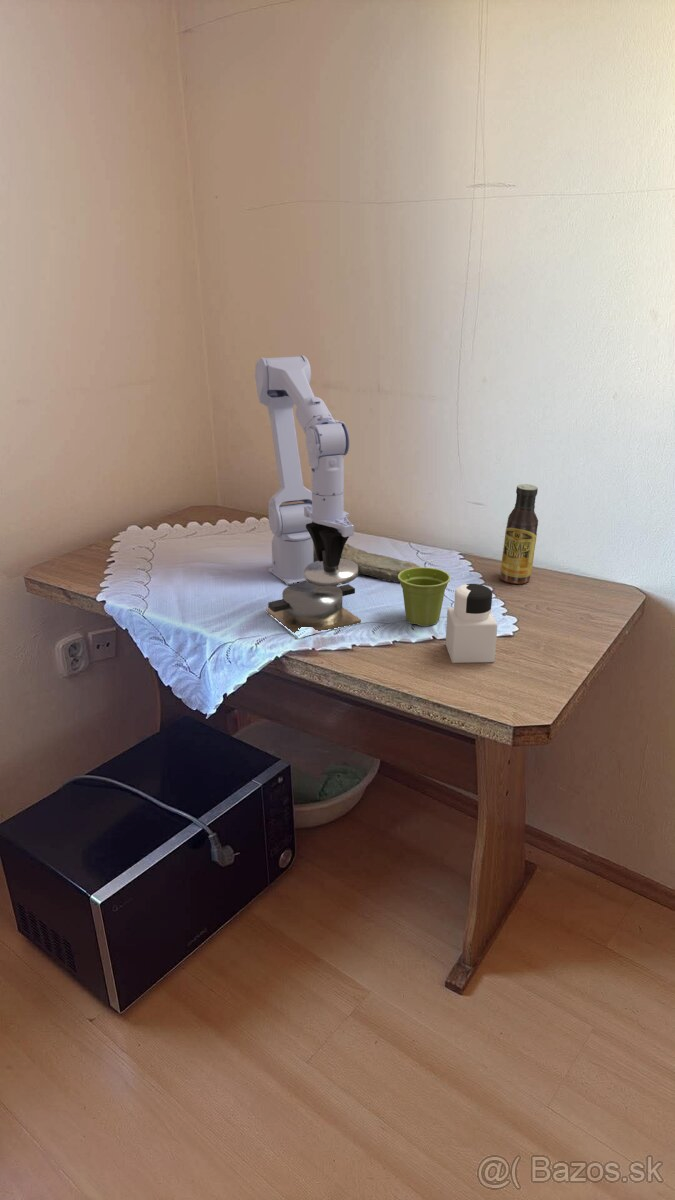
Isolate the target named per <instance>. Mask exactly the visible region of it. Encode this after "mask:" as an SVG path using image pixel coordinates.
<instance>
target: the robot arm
mask: <svg viewBox="0 0 675 1200" xmlns="http://www.w3.org/2000/svg"><path fill="white" fill-rule="evenodd" d="M311 369H312V368H311V365H310V361H309V360H308V358H307V357H306V356H305V355H297V356H283V357H261V356H260V357H259V358H258V360H256V362H255V370H254V379H255V385H256V392H257V397H258V401H259V403H260V404H261V405H264V406H266V407H267V411H268V415H269V420H270V421H269V422H270V428H271V436H272V441H273V449H274V457H275V464H276V470H277V471H276V472H277V478H278V483H279V488H278V490H277V491H276V492H275V493H274V494H273V495H272V496H271V498H270V499H269V500H268V503H267V504H268V525H269V529H270V531H271V533H272V534H273V535H274V536H273V537H272V539H271V559H272V560H271V561H272V564H271V565H272V567H268V572H270V573H271V574H273V575H274V576H276V577H277V578H278V579H280V580H281V581H282V582H284V583H285V584H286V585H293V583H294V584H296V583H297V582H299V583H301V582H307V581H306V579H305V573H304V570H305V568H306V567H307V566H308V565H309V564H311V563H313V562H314V557H313V543H314V547H315V550H316V554H317V558H318V561H320V562H321V561H323V557H322V548H325V554H326V562H327V566H328V567H334V566H338V565H339V562H340V559H341V555H342V551H343V548H344V545H345V544H347V541H348V540H349V538H350V537H352V536H355V524H352V522H350V520H349V519H348V518H349V517H350V513H349V512H348V511H346V510H344V509H345V463H344V462H345V461H344V460H345V457H344V456H346V455H347V454H349V450H350V444H351V443H350V434H349V430H348V427H347V426H346V423H345V422H344V421H340V420H339V419H335V418H334V417H333V415H332V414H331V412H330V410H329V408H328V407H327V405H326V403H325V402H324V399H322V398H320V397H318V396H315V394H314V392H313V389H312V388H311V385H310V383H311V378H312V370H311ZM294 406H296V407H295V417H294ZM295 418H296V420H297V421H298V423H299V425H300V427H301V429H302V431H303V433H304V434H305V447H306V451H307V456H308V458H307V459H308V465H309V467H310V468H311V473H310V474H311V490H310V489H309V488H307V487H306V486H304V481H303V472H302V466H301V459H300V453H299V452H300V451H299V445H298V444H299V443H298V437H297V430H296V424H295ZM294 502H296V503H294ZM297 502H298V503H297ZM286 503H289V504H286ZM282 504H283V505H282Z"/></svg>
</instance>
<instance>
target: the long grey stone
mask: <svg viewBox="0 0 675 1200" xmlns="http://www.w3.org/2000/svg"><path fill="white" fill-rule="evenodd" d="M313 557H314V562H316V561H318V558H317V554H316V550H315V547H314V543H313ZM341 559H347V560H351V561H353V562H355V563H356V564H357V566H358V575H364V576H365V575H367V576H369V577H374V578H377V579H379V578H380V579H379V580H383V579H384V581H388V580H390V581H389V582H391V581H395V582H394V583H400V581H399V579H398V574H399V573H400V572H401V571H403V570H406V569H409V568H417V567H421V566H420V565H418V564H417V563H414V562H412V561H407V560H402V559H398V558H395V557H392V556H391V557H390V556H386V555H382V554H378V553H377V554H376V553H371V552H367V551H365V550H363V549H359V548H356V547H355V546H352V545H350V544H349V543H345V545H344V548H343V551H342V555H341Z"/></svg>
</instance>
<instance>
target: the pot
mask: <svg viewBox="0 0 675 1200" xmlns="http://www.w3.org/2000/svg"><path fill="white" fill-rule="evenodd" d="M355 593H356V588H355V587H353V586H352V585H350V584H349V583H346V584H342V585H337V586H318V585H313V584H311V583H309V582H307V581H303V582H299V583H294V584H289V586H287V587H285V588H284V589H283V591H282V594H281V596H282V599H277V600H273V601H269V602H268V603H267V605H268V608H267V609H265V612H266V611H267V612H268V613H269V614H270V615H272V616H273V617H274V618H276V619H277V620H278V621H279V622H281V623H282V624H283V625H284V626H286V627H287V628H288V629H290V630H291V631H292V632H294V633H295V632H296V631H299V630H298V628H299V629H300V628H301V627H313V628H314V629H315V630H318V631H321V630H328V629H334V628H338V627H343V628H345V627H344V626H347V627H350V626H349V625H351V626H354V625H353V624H355V625H358V624H357V623H359V624H361V623H362V620H361V618H359V617H358V616H356V615H354V614H353V613H352V612H351V611H349V610H348V609H346V608H344V606H343V597H346V596H350V595H355ZM270 615H269V616H270ZM360 622H361V623H360Z"/></svg>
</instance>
